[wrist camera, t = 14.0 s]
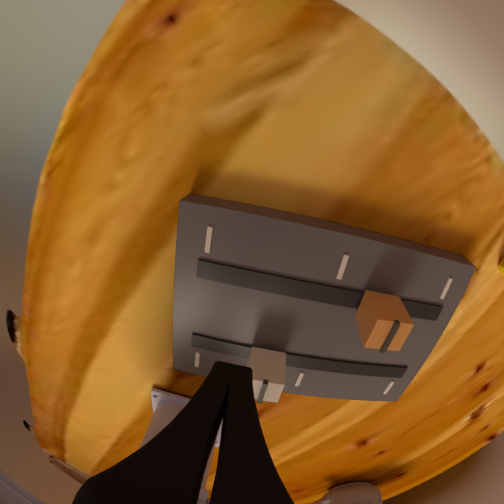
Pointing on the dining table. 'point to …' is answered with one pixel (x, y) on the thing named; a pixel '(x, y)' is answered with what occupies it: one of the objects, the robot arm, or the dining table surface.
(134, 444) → the dining table surface
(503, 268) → the watch
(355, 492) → the teacup
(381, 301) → the fader orange
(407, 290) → the fader panel
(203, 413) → the robot arm
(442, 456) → the dining table surface
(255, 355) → the fader ivory
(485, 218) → the dining table surface
